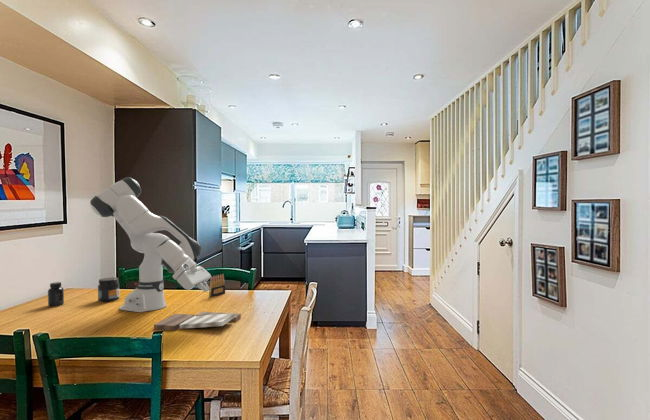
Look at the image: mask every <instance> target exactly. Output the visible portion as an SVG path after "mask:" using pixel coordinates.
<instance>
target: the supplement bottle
mask: <svg viewBox="0 0 650 420" xmlns="http://www.w3.org/2000/svg"><path fill="white" fill-rule="evenodd" d="M64 291H65V290H64V287H62V282H61V281H60V282H59V281H57V282H50V284H49V289H48V290H47V306H48V307H49V306H57V307H61V306H64V305H65V304H64V303H65V302H64V301H65V299H64V297H65V296H64V295H65V292H64ZM60 305H61V306H60Z"/></svg>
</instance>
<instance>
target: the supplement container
mask: <svg viewBox="0 0 650 420" xmlns="http://www.w3.org/2000/svg"><path fill="white" fill-rule="evenodd" d="M115 300H116V301H118V300H120V283H119V277H115V276H114V277H111V276H110V277H104V278H100V279H98V285H97V301H98V302H99V301H100V302H99V303H110V302H111V301H112V302H115ZM112 302H111V303H112Z"/></svg>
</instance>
